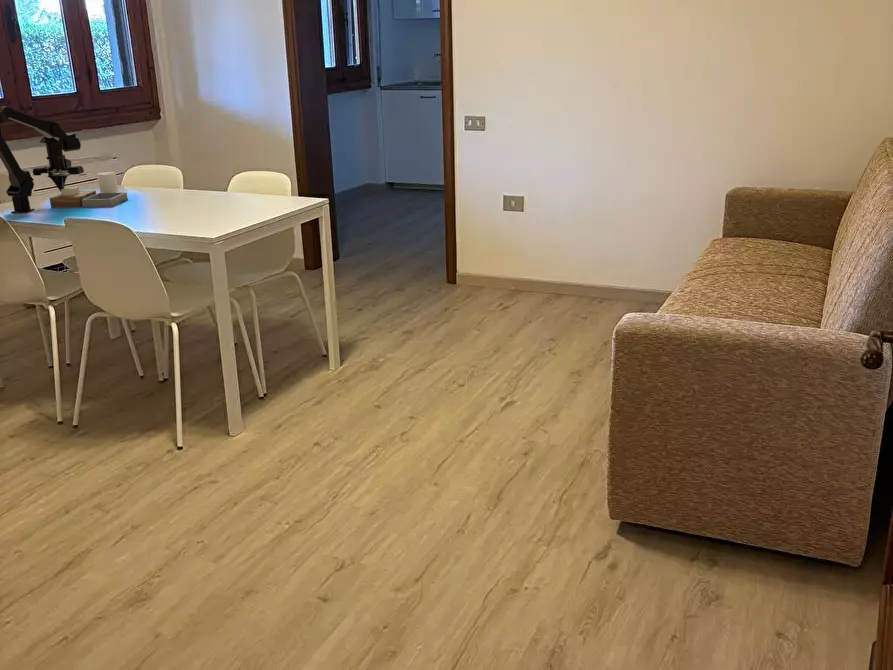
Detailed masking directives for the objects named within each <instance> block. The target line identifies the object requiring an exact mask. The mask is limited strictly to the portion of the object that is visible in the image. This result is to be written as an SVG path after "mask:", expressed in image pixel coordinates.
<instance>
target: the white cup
mask: <svg viewBox="0 0 893 670" xmlns="http://www.w3.org/2000/svg"><path fill="white" fill-rule="evenodd" d="M96 180H97V184H98V188H99V193H119V191H118V182H117V181H118V180H117V172H115V171H107V172H105V171H104V172H98V173H96Z"/></svg>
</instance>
